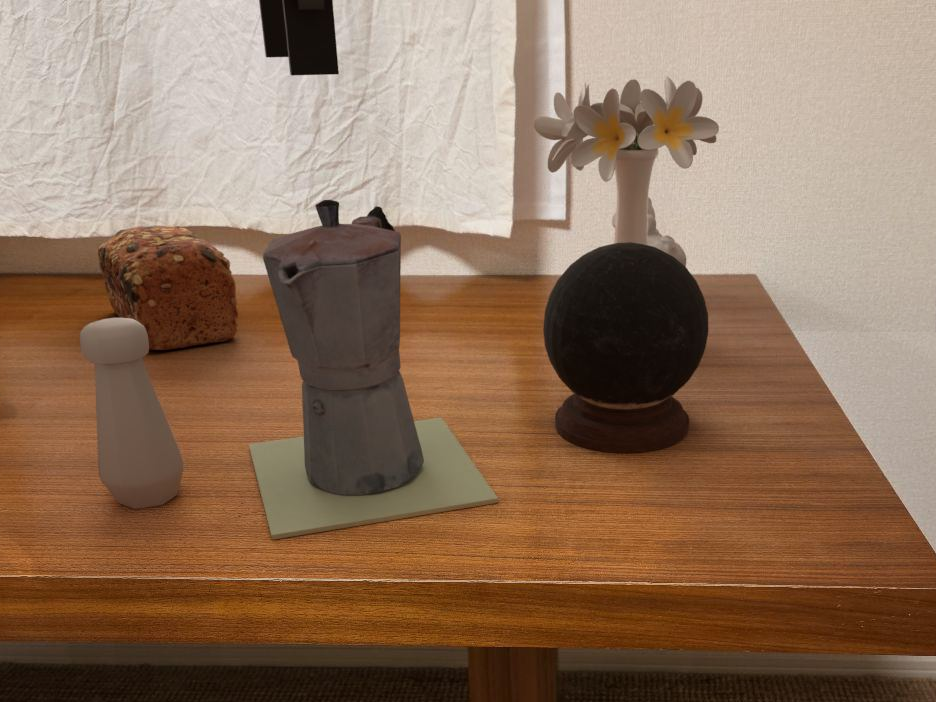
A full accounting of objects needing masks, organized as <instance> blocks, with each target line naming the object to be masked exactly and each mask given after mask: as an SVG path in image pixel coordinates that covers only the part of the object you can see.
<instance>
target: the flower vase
mask: <svg viewBox="0 0 936 702" xmlns="http://www.w3.org/2000/svg"><path fill="white" fill-rule="evenodd" d="M586 83H587V82H584V83H583V85H582V87H581V89H580V92H579V97H578V100H577V101H578V102H577V106H575V108H574V109H573V112H572V110H571V108H570V106H569V104H568V103H567V100H566V99H565V96H564V95H563V94H562V93H561V92H555V93H554V96H553V110H554V112H555V115H556V116H557V118H555V117H550V116H539V117H536V118H535V119H534V120H533V128H534V130H535V131H536V133H538V134H539V135H540V136H541V137H543V138H545V139H547V140H549V141H557V142H556V143H555V142H554V144H553V146H552V147H551V149H550V151H549V153H548V157H547V169H548V171H549V172H550V173H556V172H558V171H559V170H560V169H561V167H562V166H563V165H564V164H565V163H566V161H567V159H568V157H569V156H570V164H571V166H572V167H573V168H575V169H576V170H577V171H579V172H581V171H583V169H584V168H585V166H587V165H589V164H591V163H592V162H594V161H596V160H597V159H598V158H599V159H598V172H599V176H600V178H601V180H602V181H603V182H605V183H607V182H610V181H611V180H612V179H613V176H614V174H615V183H616V210H615V213H616V224H615V228H614V239H613V244H615V243H626V242H632V243H638V244H644V245H648V243H647V212H648V197H649V190H650V184H651V179H652V173H653V168H654V164H655V162H656V161H655V160H656V159H657V157H658V155H659V149H660V148H662V147H664V146H665V147H666V148H667V150H668V152H669V154H670V156H671V158H672V159H673V161H674V163H676V165H677V166H678V167H680V168H681V169H689V168H690V167H691V166H692V164H693V162H694V156H696V155H697V152H698V147H697V144H696V142H695V141H700V142H704V143H707V144H715V143H716V142H717V135H718V133H719V132H720V125H719V124H718V123H717V121H715V120H714V119H712V118H709V117H707V116H702V115H700V116H699V115H698V114H699V112H700V110H701V108H702V105H703V93H702V91H701V89H700V88H698V87H696V84H695V83H694V82H693V81H691V80H686V81H684V82H683V83H682V82H681V84H680V85H679V86H678V87H677V86H676V85H675V82H673V80H672V78H670V77H669V76H666V77H665V78H664V84H663V85H664V86H663V87H664V95H665V98H663V96H661V95H660V94H659V93H658V92H657V91H655V90H652V89H650V88H644V89H641V84H640V82H639V81H638V80H637V79H636V78H634V79H630V80H628V81H627V82H626V83H625V85H624V87H623V88H622V91H621V94H619V91H618V90H617V89H616V88H613V87H612V88H610V89H608V91H607V92H606V94H605V96H604V98H603V100H602V102H595V103H592V104H591V99H590V84H589V83H587V84H586ZM588 136H589V137H592V138H587V137H588ZM585 138H587V139H585Z"/></svg>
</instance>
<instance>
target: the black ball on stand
mask: <svg viewBox="0 0 936 702" xmlns="http://www.w3.org/2000/svg"><path fill="white" fill-rule="evenodd" d="M542 331H543V342H544V348H545V350H546V353H547V358H548V360H549V362H550V364H551V366H552V368H553V370H554V371H555V374H556V375H557V377H558V378H559V379H560V380H561V382H562V383H563V384H564V385H565V386H566V387H567V388H568V389H569V390H570V392H572V393H573V394H570V395H569V396H568V397H566V398H565V400H564V401H563V403H562V405H561V406H560V407H558V409H557V410H556V412H555V415H554V417H555V418H554V423H555V424H554V427H555V430H556V432H557V433H558V435H559V436H561V438H563V439H564V440H566V441H568V442H569V443H571V444H573V445H575V446H578V447H581V448H585V449H587V450H592V451H598V452H603V453H612V454H613V453H614V454H637V453H648V452H653V451H659V450H662V449H665V448H668V447H671V446H673V445H675V444H677V443H679V442H680V441H682V440H684V438H685V437H686V436H687V435H688V432H689V429H690V427H689V426H690V418H689V414H688V413H687V411H686V410H685V409H684V406H683V405H682V404H681V402H680V401H679V399H677V398H675V397H674V395H675V394H676V393H677V392H678V391H679V390H680V389H682V388H683V387H684V386H685V385H686V383H688V382H689V381H690V379H691V378H692V377H693V375H694V373H695V372H696V370H697V369H698V368H699V366H700V363H701V361H702V359H703V356H704V353H705V350H706V346H707V342H708V336H709V331H710V330H709V313H708V309H707V304H706V299H705V297H704V294H703V293H702V290H701V288H700V286H699V284H698V282H697V280H696V278H695V277H694V276H693V274H692V273H691V271H689V269H688V268H687V266H686V267H685V266H684V265H683V264H682V263H681V262H679V261H678V260H677V259H676V258H675V257H673V256H671V255H669V254H667V253H665V252H664V251H662V250H660V249H658V248H656V247H653V246H649V245H644V244H638V243H632V242H626V243H615V244H614V243H610V244H606V245H602V246H598V247H597V248H595V249H592V250H591V251H588V252H586V253H585V254H583V255H581V256H580V257H579V258H578V259H576V260H575V261H574V262H572V263H571V264H570V265H569V266H568V267H567V268H566V270H564V272H563V273H562V274H561V275H560V276H559V278H558V279H557V281H556V282H555V284H554V286H553V288H552V289H551V292H550V293H549V297H548V299H547V302H546V306H545V309H544V319H543V328H542Z"/></svg>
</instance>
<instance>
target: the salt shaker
mask: <svg viewBox="0 0 936 702" xmlns="http://www.w3.org/2000/svg"><path fill="white" fill-rule="evenodd" d="M79 346H80V349H81V353H82V356H83V357H84V359H85V360H86V361H88V362H90V363H91V364H94V386H95V388H94V389H95V390H94V391H95V413H96V415H95V416H96V439H97V440H96V442H97V443H96V446H97V473H98V477H99V478H100V482H101V483H102V484H103V486H104V487H105V488H106V489H107V491H109V493H110V495H111V496H112V497H113V498H114V500H116V502H117V503H118V504H121V505H123V506H126V507H129V508H131V509H134V510H138V509H145V508H153V507H160V506H163V505H164V504H166V503H167V502H169V501H170V500H172V499H173V498H174V497H176V496H178V495H179V492H180V491H179V490H180V486H181V481H182V478H183V475H184V474H183V473H184V456H183V454H182V451H181V449H180V447H179V444H178V442H177V440H176V438H175V435H174V433H173V430H172V428H171V426H170V423H169V420H168V418H167V416H166V414H165V411H164V409H163V407H162V404H161V401H160V400H159V397H158V394H157V392H156V389H155V387H154V385H153V383H152V380H151V377H150V374H149V371H148V370H147V366H146V365H145V362H144V360H143V357H145V356H146V355H147V354H149V351H150V350H149V342H148V335H147V332H146V330H145V327H144V325H142V324H141V323H139V322H138V321H136V320H134V319H129V318H119V317H110V318H102V319H99V320H95V321H92V322H90V323H88V324H87V325H84V327H82V330H80V333H79Z"/></svg>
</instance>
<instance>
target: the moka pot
mask: <svg viewBox="0 0 936 702" xmlns="http://www.w3.org/2000/svg"><path fill="white" fill-rule="evenodd" d="M314 206H315V210H316V213H317V215H318V218H319V220H320V223H321V225H318V226H314V227H310V228H306V229H303V230H299V231H296V232H292V233H288V234H285V235H281V236H278V237H275V238H274V237H273V238H272V239H271V240H270V241H269V243H268V245H267V247H266V249H265V250H264V252H263V253H262V260H263V263H264V267H265V270H266V274H267V277H268V280H269V284H270V286H271V287H270V288H271V290H272V293H273V297H274V301H275V304H276V308H277V310H278V313H279V317H280V320H281V324H282V327H283V332H284V333H285V334H284V335H285V338H286V341H287V344H288V349H289V351H290V354H291V357H292V358H293V359H294V360H296V361H297V366H298V371H299V376H300V378H301V380H302V382H301V399H302V402H301V403H302V423H303V424H302V425H303V436H304V456H305V469H306V474H307V476H308V480H309V482H310V483H311V484H312V485H314V486H315V487H317V488H319V489H321V490H323V491H326V492H330V493H334V494H340V495H366V494H374V493H379V492H384V491H387V490H390V489H393V488H396V487H398V486H401V485H402V484H403V483H406V482H408V481H410V480H411V479H413V478H414V476H415V475H416V474H417V473H418V471H419V470H420V469H421V468H422V465H423V462H424V458H423V453H422V449H421V445H420V442H419V438H418V434H417V431H416V427H415V423H414V421H415V420H414V416H413V412H412V408H411V405H410V401H409V397H408V393H407V389H406V385H405V381H404V378H403V375H402V373H401V372H400V369H401V366H402V364H401V357H400V356H401V355H400V343H401V272H402V271H401V269H402V265H401V263H402V262H401V260H402V259H401V258H402V257H401V255H402V253H401V252H402V251H401V250H402V249H401V248H402V235H401V233H400V232H399V231H396V229H395V228H394V226H393V225H392V224H391V223H390V222H389V220H388V219H387V215H386V214H385V213H384V211H383V207H381V206H377V205H375V206H374V207H373V208H372V209H371V210H370V211H369V212H368V214H367V215H366V216H359V217H357V218H355V219H353V220H352V221H351V223H340V221H339V220H340V211H339V210H340V202H339V201H337V200H332V199H323V200H321V201H320V202H318V203H316V204H315V205H314Z"/></svg>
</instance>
